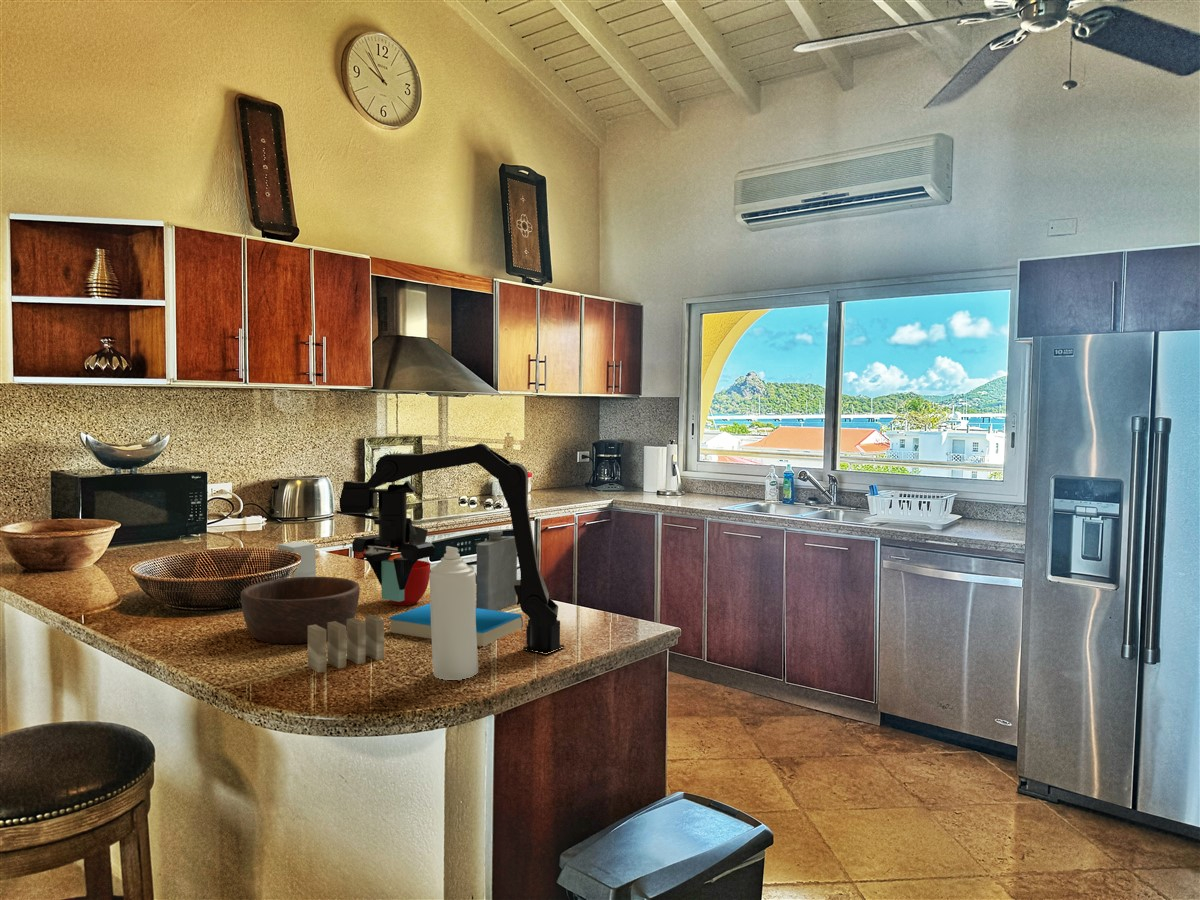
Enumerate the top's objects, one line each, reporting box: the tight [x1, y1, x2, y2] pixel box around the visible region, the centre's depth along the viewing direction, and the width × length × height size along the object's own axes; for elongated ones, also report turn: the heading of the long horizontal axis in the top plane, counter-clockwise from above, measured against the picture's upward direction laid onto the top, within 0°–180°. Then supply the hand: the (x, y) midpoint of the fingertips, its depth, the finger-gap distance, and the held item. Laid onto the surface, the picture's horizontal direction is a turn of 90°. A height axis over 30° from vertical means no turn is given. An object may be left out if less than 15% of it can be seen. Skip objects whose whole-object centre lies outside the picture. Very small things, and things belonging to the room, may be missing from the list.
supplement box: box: [277, 540, 317, 578], centre depth 225 cm, size 7×7×13 cm
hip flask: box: [476, 529, 518, 611], centre depth 205 cm, size 16×4×20 cm, turn 154°
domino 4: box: [364, 614, 385, 661], centre depth 165 cm, size 2×5×8 cm, turn 42°
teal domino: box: [381, 559, 404, 602], centre depth 170 cm, size 2×5×8 cm, turn 58°
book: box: [389, 603, 524, 648], centre depth 185 cm, size 17×4×25 cm
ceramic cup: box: [380, 559, 431, 606], centre depth 213 cm, size 13×17×10 cm
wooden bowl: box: [240, 576, 361, 645], centre depth 182 cm, size 25×25×10 cm
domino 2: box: [327, 621, 347, 669], centre depth 159 cm, size 2×5×8 cm, turn 42°
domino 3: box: [346, 617, 366, 665], centre depth 162 cm, size 2×5×8 cm, turn 42°
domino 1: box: [307, 624, 327, 673], centre depth 157 cm, size 2×5×8 cm, turn 42°
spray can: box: [429, 545, 479, 681], centre depth 153 cm, size 12×11×25 cm
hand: (393, 587), depth 170 cm, fingers closed on teal domino, 5 cm apart
